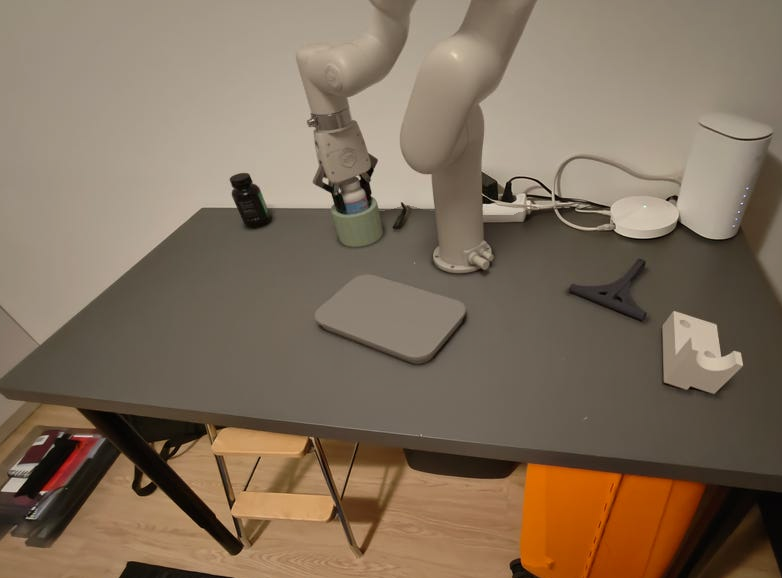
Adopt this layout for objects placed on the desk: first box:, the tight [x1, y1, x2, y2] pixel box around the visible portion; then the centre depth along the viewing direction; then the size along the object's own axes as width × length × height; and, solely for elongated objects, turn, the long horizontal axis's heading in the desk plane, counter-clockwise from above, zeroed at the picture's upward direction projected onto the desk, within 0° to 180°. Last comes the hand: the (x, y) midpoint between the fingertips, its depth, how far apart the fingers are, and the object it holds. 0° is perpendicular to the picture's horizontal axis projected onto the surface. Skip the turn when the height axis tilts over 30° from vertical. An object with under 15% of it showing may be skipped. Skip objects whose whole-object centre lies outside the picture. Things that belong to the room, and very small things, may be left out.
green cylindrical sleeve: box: [330, 196, 384, 248], centre depth 107 cm, size 10×10×8 cm
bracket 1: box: [568, 257, 648, 322], centre depth 86 cm, size 14×15×3 cm
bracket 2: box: [662, 310, 744, 395], centre depth 70 cm, size 13×7×8 cm, turn 163°
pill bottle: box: [339, 176, 369, 215], centre depth 104 cm, size 6×6×11 cm
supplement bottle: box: [229, 172, 272, 229], centre depth 115 cm, size 7×7×12 cm
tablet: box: [314, 274, 467, 365], centre depth 85 cm, size 16×26×2 cm, turn 59°
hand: (354, 203), depth 104 cm, fingers closed on pill bottle, 6 cm apart
